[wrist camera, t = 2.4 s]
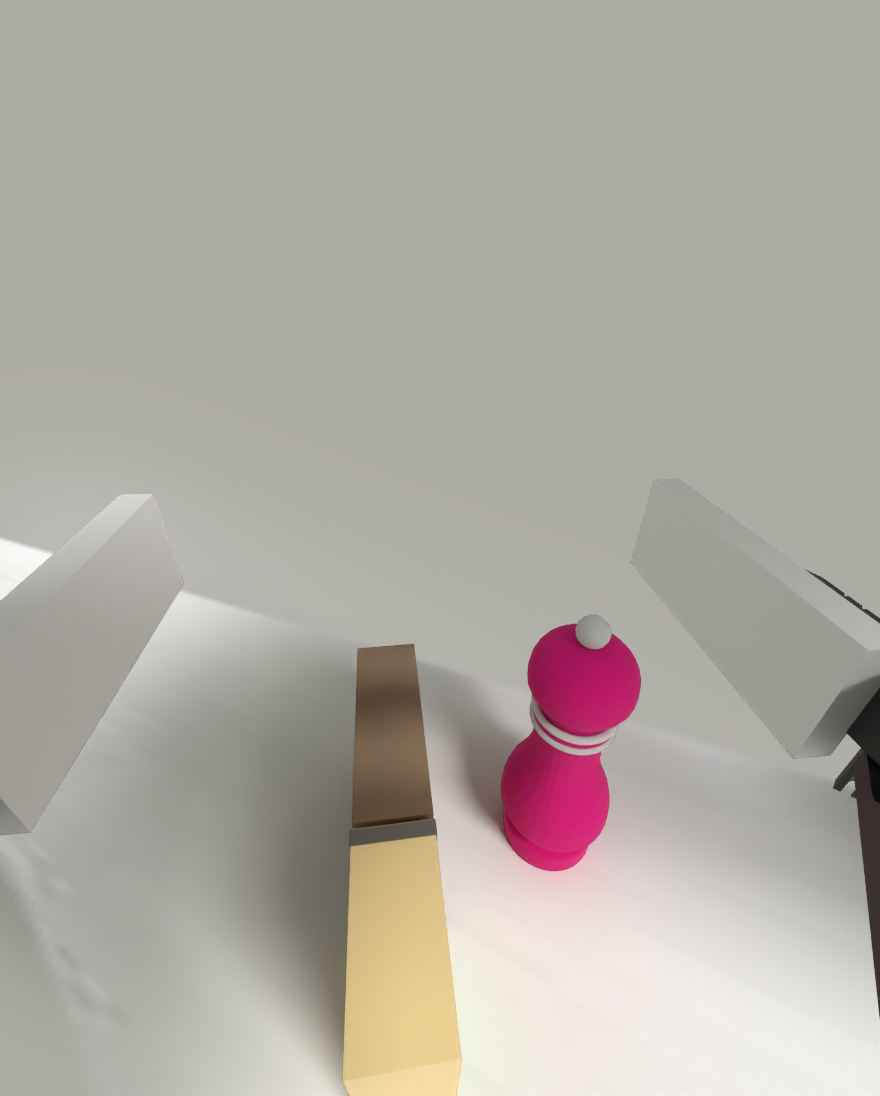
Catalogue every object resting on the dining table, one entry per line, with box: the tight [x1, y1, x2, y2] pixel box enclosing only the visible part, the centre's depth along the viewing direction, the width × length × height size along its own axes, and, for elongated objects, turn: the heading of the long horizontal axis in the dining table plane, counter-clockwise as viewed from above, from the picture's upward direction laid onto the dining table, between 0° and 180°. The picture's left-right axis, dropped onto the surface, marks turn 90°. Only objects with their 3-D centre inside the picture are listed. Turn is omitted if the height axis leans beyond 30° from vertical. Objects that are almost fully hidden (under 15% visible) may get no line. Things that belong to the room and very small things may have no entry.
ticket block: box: [352, 644, 433, 829], centre depth 31 cm, size 12×4×12 cm, turn 7°
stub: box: [343, 819, 462, 1096], centre depth 22 cm, size 8×4×12 cm, turn 7°
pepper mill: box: [501, 615, 641, 871], centre depth 29 cm, size 7×7×20 cm
